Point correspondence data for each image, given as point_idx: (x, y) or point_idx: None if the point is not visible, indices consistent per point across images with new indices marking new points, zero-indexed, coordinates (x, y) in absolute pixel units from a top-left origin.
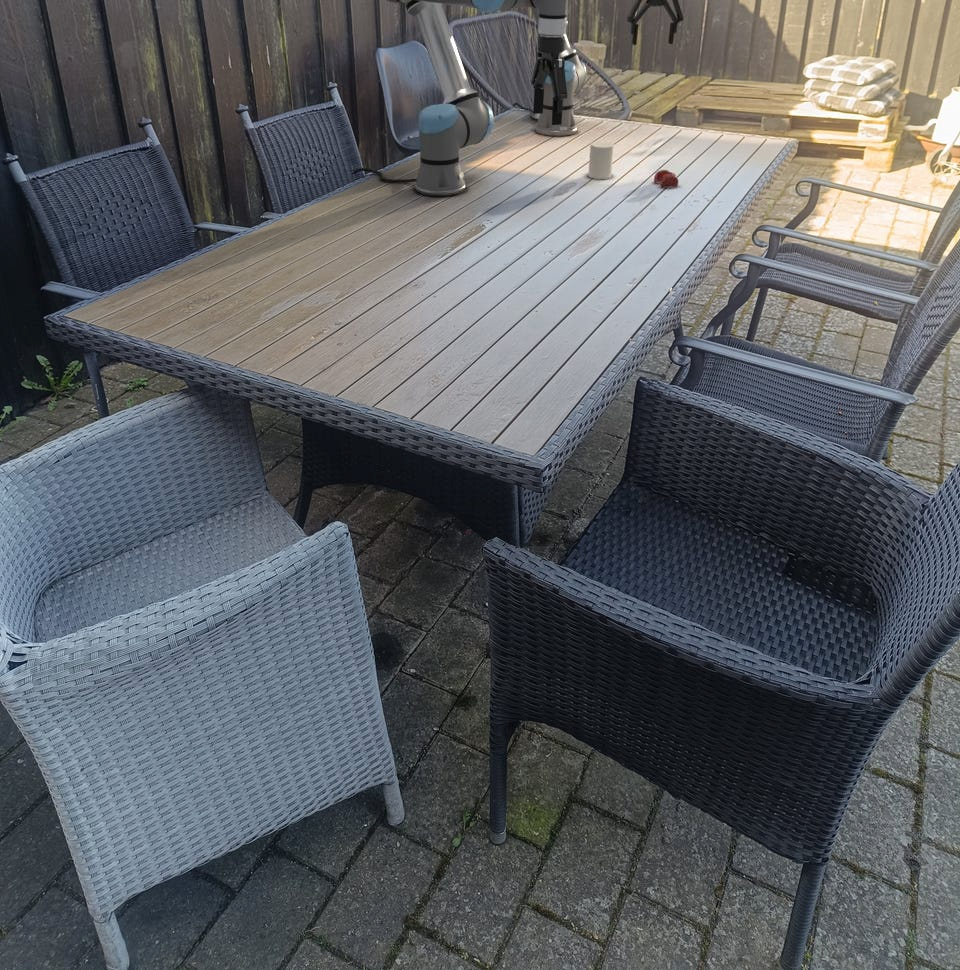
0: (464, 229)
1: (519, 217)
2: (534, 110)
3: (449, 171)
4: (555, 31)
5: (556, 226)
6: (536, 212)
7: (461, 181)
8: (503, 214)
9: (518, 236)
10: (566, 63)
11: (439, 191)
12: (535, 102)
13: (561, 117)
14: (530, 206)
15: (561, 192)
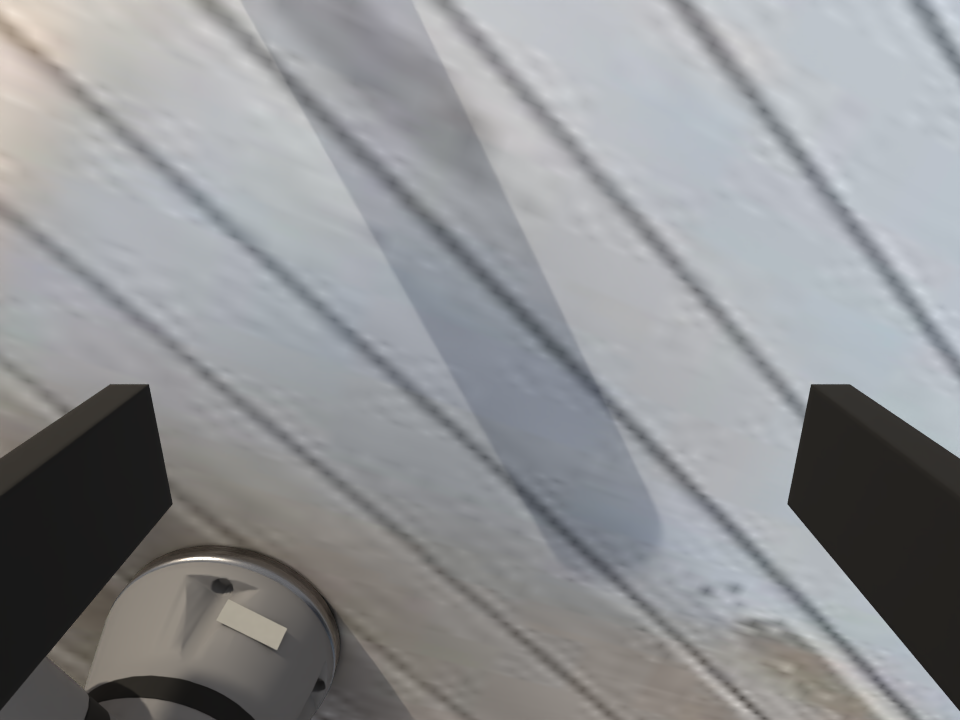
0: (757, 688)
1: (729, 469)
2: (146, 527)
3: (283, 709)
4: None
5: (931, 365)
6: (701, 374)
7: (278, 609)
8: (659, 515)
9: None
10: None
11: (331, 682)
12: (81, 599)
13: (910, 432)
14: (603, 367)
15: (430, 104)
